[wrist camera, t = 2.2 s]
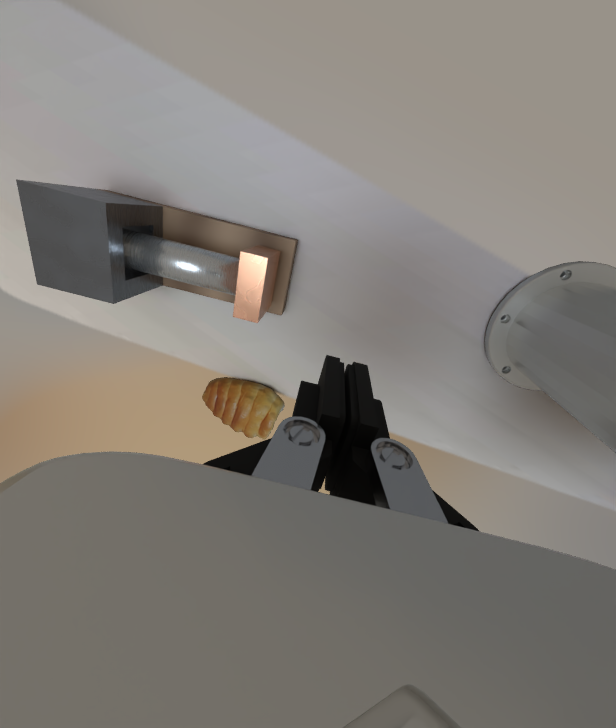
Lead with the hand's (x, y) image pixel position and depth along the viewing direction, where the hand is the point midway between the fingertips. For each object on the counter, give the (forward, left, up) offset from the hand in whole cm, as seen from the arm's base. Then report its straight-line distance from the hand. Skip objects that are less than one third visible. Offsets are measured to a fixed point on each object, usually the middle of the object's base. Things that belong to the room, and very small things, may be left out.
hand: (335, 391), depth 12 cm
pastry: (+7, +16, -19) cm, 26 cm away
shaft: (+12, 0, -16) cm, 21 cm away
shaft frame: (+15, 0, -19) cm, 24 cm away
